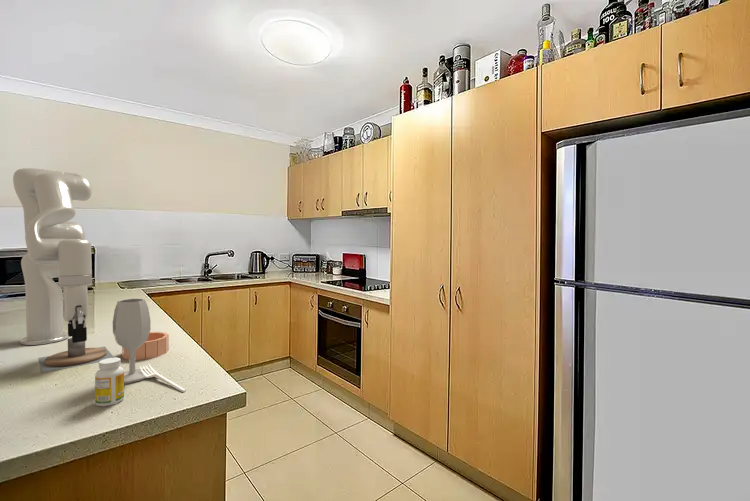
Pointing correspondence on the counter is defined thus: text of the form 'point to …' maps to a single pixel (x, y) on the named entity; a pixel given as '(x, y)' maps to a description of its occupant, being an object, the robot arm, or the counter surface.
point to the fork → (159, 377)
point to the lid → (75, 355)
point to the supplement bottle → (109, 382)
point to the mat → (49, 369)
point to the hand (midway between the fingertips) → (77, 338)
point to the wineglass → (131, 331)
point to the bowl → (151, 346)
